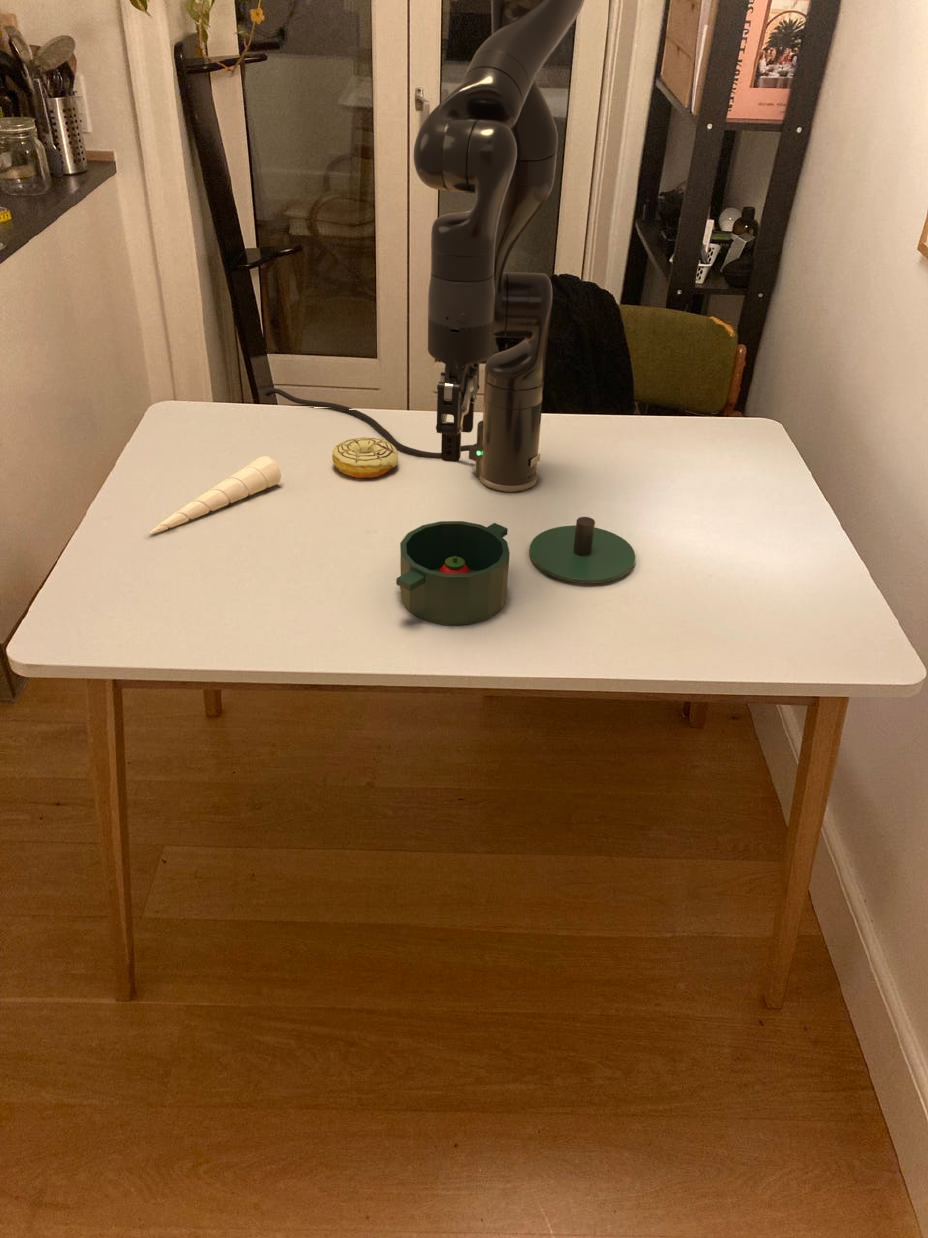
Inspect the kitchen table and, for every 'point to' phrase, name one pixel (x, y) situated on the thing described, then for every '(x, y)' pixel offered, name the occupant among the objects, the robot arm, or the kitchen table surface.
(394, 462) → the decorated donut
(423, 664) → the kitchen table surface
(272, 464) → the unicorn horn
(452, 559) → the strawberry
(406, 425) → the kitchen table surface
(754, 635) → the kitchen table surface
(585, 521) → the lid
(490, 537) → the pan
